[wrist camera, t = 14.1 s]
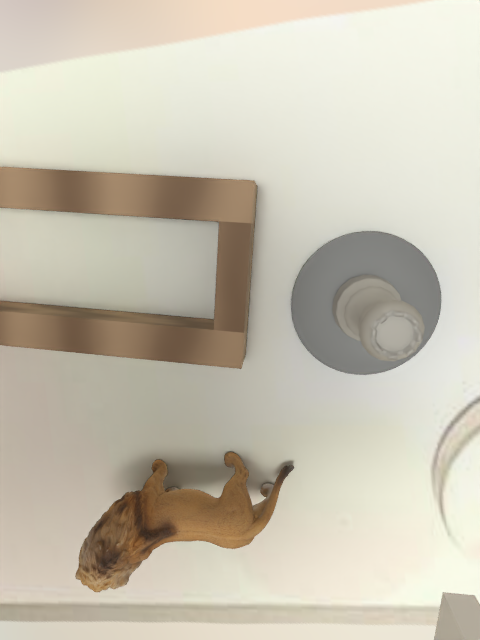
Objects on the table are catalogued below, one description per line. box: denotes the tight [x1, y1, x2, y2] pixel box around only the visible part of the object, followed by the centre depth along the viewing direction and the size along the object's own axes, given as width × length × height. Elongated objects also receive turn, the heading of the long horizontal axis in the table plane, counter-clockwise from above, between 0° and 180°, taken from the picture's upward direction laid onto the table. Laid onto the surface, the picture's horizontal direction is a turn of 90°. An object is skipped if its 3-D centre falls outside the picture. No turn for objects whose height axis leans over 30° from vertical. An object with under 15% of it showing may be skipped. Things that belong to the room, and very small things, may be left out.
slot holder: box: [0, 167, 257, 369], centre depth 28 cm, size 24×12×3 cm, turn 87°
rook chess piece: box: [332, 275, 425, 361], centre depth 24 cm, size 4×4×8 cm
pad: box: [291, 232, 441, 375], centre depth 28 cm, size 10×10×1 cm
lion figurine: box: [75, 452, 294, 592], centre depth 28 cm, size 15×5×9 cm, turn 107°
